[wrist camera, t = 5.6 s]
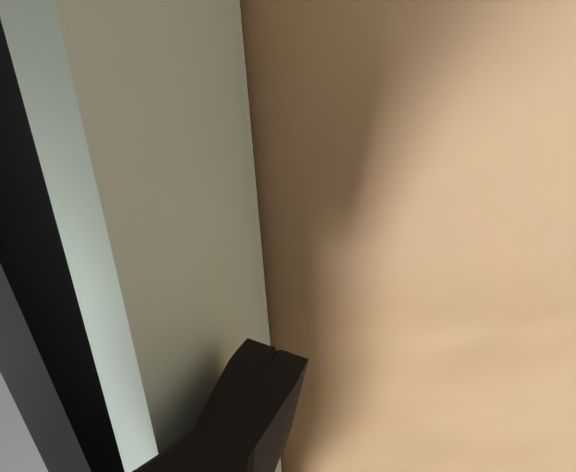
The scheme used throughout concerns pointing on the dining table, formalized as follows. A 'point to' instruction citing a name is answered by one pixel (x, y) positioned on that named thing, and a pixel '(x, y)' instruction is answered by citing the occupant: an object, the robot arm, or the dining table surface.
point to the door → (148, 194)
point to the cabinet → (41, 320)
